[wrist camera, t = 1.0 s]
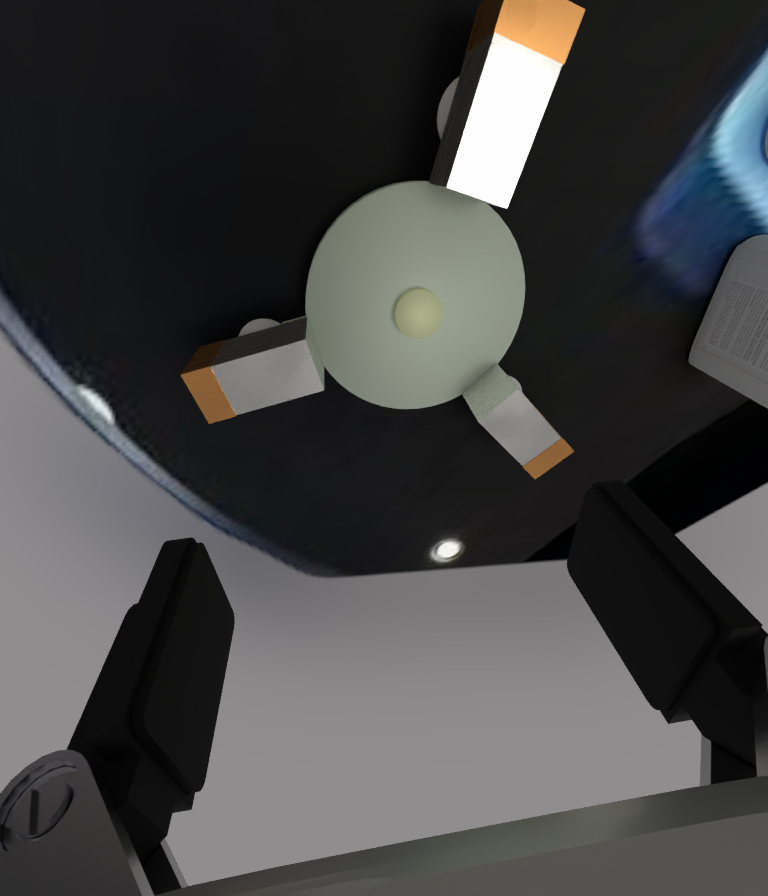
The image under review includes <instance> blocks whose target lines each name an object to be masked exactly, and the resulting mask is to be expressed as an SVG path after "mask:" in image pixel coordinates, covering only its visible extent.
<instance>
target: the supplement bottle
mask: <svg viewBox="0 0 768 896" xmlns="http://www.w3.org/2000/svg"><path fill="white" fill-rule="evenodd" d="M765 152H766V156H767V158H768V128H767V132H766V137H765Z"/></svg>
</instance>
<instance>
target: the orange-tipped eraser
mask: <svg viewBox="0 0 768 896" xmlns="http://www.w3.org/2000/svg"><path fill="white" fill-rule="evenodd" d="M181 377H182V378H183V380H184V382H185V383H186V385H187V387H188V389H189V390H190V392H191V394H192V395H193V397H194V399H195V401H196V402H197V404H198V406H199V407H200V409H201V411H202V413H203V414H204V416H205V418H206V419H207V421H208V423H209V424H210V423H214V422H217V421H221V420H225V419H228V418H232V417H235V416H236V415H238V414H242V413H246V412H249V411H253V410H256V409H260V408H263V407H267V406H270V405H274V404H278V403H281V402H285V401H288V400H292V399H295V398H299V397H303V396H306V395H310V394H313V393H317V392H320V391H324V361H323V358H322V355H321V353H320V350H319V347H318V344H317V341H316V339H315V336H314V333H313V330H312V327H311V325H310V322H309V319H308V317H304V318H301V319H297V320H294V321H291V322H287V323H284V324H280V325H277V326H273V327H270V328H266V329H263V330H259V331H256V332H252V333H249V334H246V335H242V336H239V337H235V338H232V339H228V340H221V341H218V342H214V343H211V344H207V345H204V346H201V347H199V348H198V350H197V351H196V352H195V354H194V355H193V357H192V358H191V360H190V361H189V363H188V364H187V366H186V367H185V369H184V370H183V372H182V373H181Z"/></svg>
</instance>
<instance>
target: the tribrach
mask: <svg viewBox="0 0 768 896" xmlns="http://www.w3.org/2000/svg"><path fill="white" fill-rule="evenodd" d="M458 80H459V77H458V78H456V79H455V80H454V81H453V82H452V83H451V84H450V85H449V86H448V88H447V89H446V91H445V92H444V94H443V96H442V98H441V101H440V103H439V107H438V113H437V128H438V133H439V137H440V139H442V135H443V132H444V128H445V125H446V121H447V118H448V114H449V111H450V107H451V104H452V101H453V97H454V94H455V90H456V87H457V83H458ZM428 183H429V181H404V182H398V183H393V184H390V185H386V186H383V187H380V188H377V189H375V190H373V191H372V192H370V193H368V194H366V195H364V196H362V197H361V198H359V199H358V200H356V201H355V202H353V203H352V204H351V205H349V206H348V207H347V208H346V209H345V210H344V211H343V212H342V213H341V214H340V215H339V216H338V217H337V218H336V219H335V221H334V222H333V223H332V224H331V225H330V227H329V228H328V229H327V231H326V233H325V234H324V236H323V238H322V239H321V241H320V243H319V245H318V247H317V249H316V252H315V254H314V256H313V260H312V263H311V266H310V270H309V275H308V281H307V288H306V304H305V310H306V316H302V317H299V318H295V319H292V320H289V321H285V322H282V324H284V323H287V322H291V321H294V320H297V319H301V318H304V317H308V319H309V322H310V325H311V327H312V330H313V333H314V336H315V339H316V341H317V344H318V347H319V350H320V353H321V355H322V358H323V361H324V366H325V368H326V369H327V370H328V372H329V373H330V374H331V375H332V376H333V377H334V378H335V379H336V381H337V382H338V383H340V384H341V385H342V386H343V387H344V388H346V389H347V390H348V391H350V392H351V393H353V394H355V395H356V396H358V397H359V398H362V399H364V400H366V401H368V402H371V403H374V404H377V405H380V406H384V407H390V408H396V409H417V408H424V407H430V406H434V405H437V404H441V403H444V402H446V401H449V400H451V399H454V398H456V397H458V396H459V395H461V394H462V392H463V391H464V390H465V389H467V388H468V387H469V386H470V385H471V384H472V383H474V382H475V381H476V380H477V379H478V378H479V377H481V376H482V375H483V374H484V373H485V372H486V371H488V370H489V369H490V368H491V367H492V366H493V365H495V364H496V363H497V364H498V363H499V361H500V360H501V359H502V357H503V356H504V354H505V353H506V351H507V349H508V348H509V346H510V344H511V342H512V340H513V338H514V336H515V333H516V331H517V329H518V326H519V322H520V319H521V316H522V311H523V305H524V298H525V277H524V268H523V263H522V258H521V255H520V252H519V249H518V246H517V243H516V241H515V239H514V237H513V235H512V234H511V232H510V230H509V228H508V227H507V225H506V224H505V223H504V221H503V220H502V218H501V217H500V216H499V215H498V214H497V213H496V212H495V211H494V210H493V209H492V208H491V207H490V206H489V205H488V204H486V203H483V202H480V201H477V200H474V199H471V198H468V197H465V196H462V195H460V194H457V193H454V192H451V191H448V190H445V189H442V188H439V187H437V186H434V185H431V184H428ZM277 325H280V323H279V322H277V321H274V320H271V319H265V318H263V319H256V320H253V321H251V322H249V323H247V324H246V325H245V326H244V327H243V328H242V330H241V332H240V334H239V336H242V335H246V334H249V333H252V332H256V331H259V330H263V329H266V328H270V327H273V326H277ZM507 376H508V377H509V378H510V379H511V380H512V381H513V383H514V384H515V385H516V386H517V387H518V388H519V389H520V391H521V392H522V388H521V385H520V384H519V382H518V381H517V380H516V379H515V378H513V377H511V376H509V375H507Z"/></svg>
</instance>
